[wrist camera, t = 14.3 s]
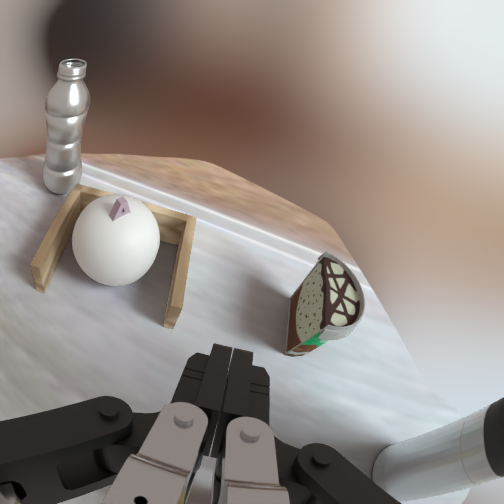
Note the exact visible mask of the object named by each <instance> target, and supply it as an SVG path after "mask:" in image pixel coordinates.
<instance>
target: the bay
mask: <svg viewBox="0 0 504 504" xmlns="http://www.w3.org/2000/svg"><path fill="white" fill-rule="evenodd" d="M110 194H113V193H109V192H105V191H102V190H98V189H94V188H91V187H87V186H84V185H80V184H75V186H74V188H73V189H72V191H71V192H70V194H69V195H68V197H67V199H66V200H65V202H64V204H63V205H62V207H61V209H60V210H59V212H58V214H57V215H56V217H55V219H54V221H53V222H52V224H51V226H50V228H49V230H48V231H47V233H46V235H45V237H44V239H43V241H42V243H41V244H40V246H39V248H38V250H37V252H36V254H35V256H34V258H33V260H32V262H31V264H30V266H31V270H32V275H33V279H34V283H35V286H36V290H37V291H40V292H43V293H45V292H46V289H47V287H48V284H49V282H50V280H51V277H52V275H53V273H54V270H55V268H56V266H57V263H58V261H59V259H60V257H61V255H62V252H63V250H64V248H65V246H66V244H67V242H68V240H69V238H70V236H71V234H72V232H73V230H74V226H75V224H76V221H77V219H78V217H79V216H80V214H81V212H82V211H83V210H84V209H85V208H86V206H88V205H89V204H90V203H91V202H92V201H94V200H96V199H97V198H100V197H102V196H105V195H110ZM140 202H141V201H140ZM142 203H143V204H144V205H145V206H146V207H147V208H148V209H149V210H150V211H151V212H152V214H153V215H154V217H155V219H156V221H157V224H158V227H159V233H160V241H163V242H167V243H170V244H174V245H178V248H177V253H176V258H175V263H174V268H173V274H172V279H171V284H170V290H169V295H168V301H167V307H166V313H165V319H164V325H163V327H167V328H171V329H173V328H174V326H175V324H176V321H177V319H178V317H179V314H180V312H181V310H182V306H183V299H184V292H185V285H186V279H187V272H188V266H189V260H190V253H191V247H192V241H193V236H194V230H195V224H196V218H197V217H194V216H190V215H187V214H183V213H180V212H176V211H173V210H169V209H166V208H162V207H159V206H155V205H152V204H148V203H145V202H142Z"/></svg>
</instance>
